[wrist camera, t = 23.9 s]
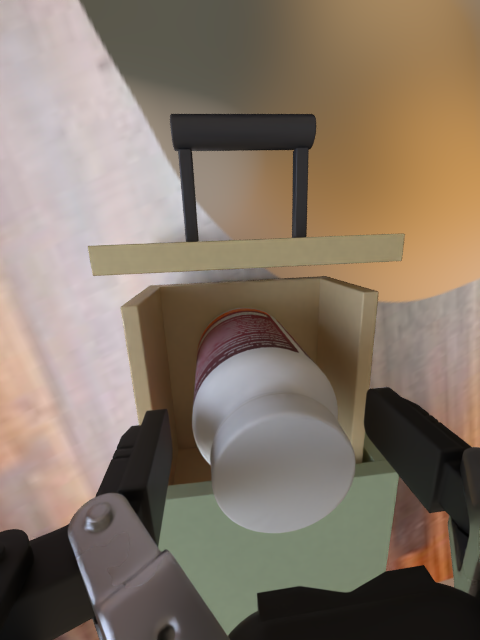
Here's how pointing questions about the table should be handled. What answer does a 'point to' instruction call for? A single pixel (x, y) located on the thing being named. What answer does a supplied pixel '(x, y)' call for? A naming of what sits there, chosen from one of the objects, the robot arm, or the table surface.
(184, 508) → the cabinet
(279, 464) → the pill bottle
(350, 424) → the drawer
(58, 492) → the table surface
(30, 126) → the table surface
